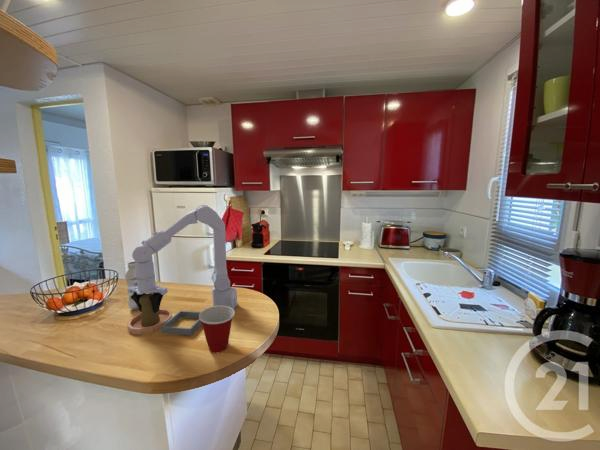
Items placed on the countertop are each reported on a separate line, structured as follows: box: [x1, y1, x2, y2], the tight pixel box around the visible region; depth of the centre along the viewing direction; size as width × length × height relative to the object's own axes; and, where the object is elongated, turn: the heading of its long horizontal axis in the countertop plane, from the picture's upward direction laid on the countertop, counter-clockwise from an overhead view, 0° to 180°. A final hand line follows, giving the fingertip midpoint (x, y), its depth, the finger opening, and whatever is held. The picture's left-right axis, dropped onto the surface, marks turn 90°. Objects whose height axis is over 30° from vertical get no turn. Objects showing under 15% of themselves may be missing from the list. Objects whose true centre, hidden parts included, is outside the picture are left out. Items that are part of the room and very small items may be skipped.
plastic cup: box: [199, 306, 236, 354], centre depth 76 cm, size 11×11×12 cm
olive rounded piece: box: [139, 293, 160, 327], centre depth 89 cm, size 6×6×11 cm
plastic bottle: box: [124, 261, 139, 311], centre depth 100 cm, size 6×7×20 cm
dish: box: [127, 308, 173, 336], centre depth 90 cm, size 14×14×2 cm
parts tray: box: [160, 310, 202, 337], centre depth 89 cm, size 11×11×2 cm
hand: (149, 311), depth 90 cm, fingers closed on olive rounded piece, 5 cm apart
